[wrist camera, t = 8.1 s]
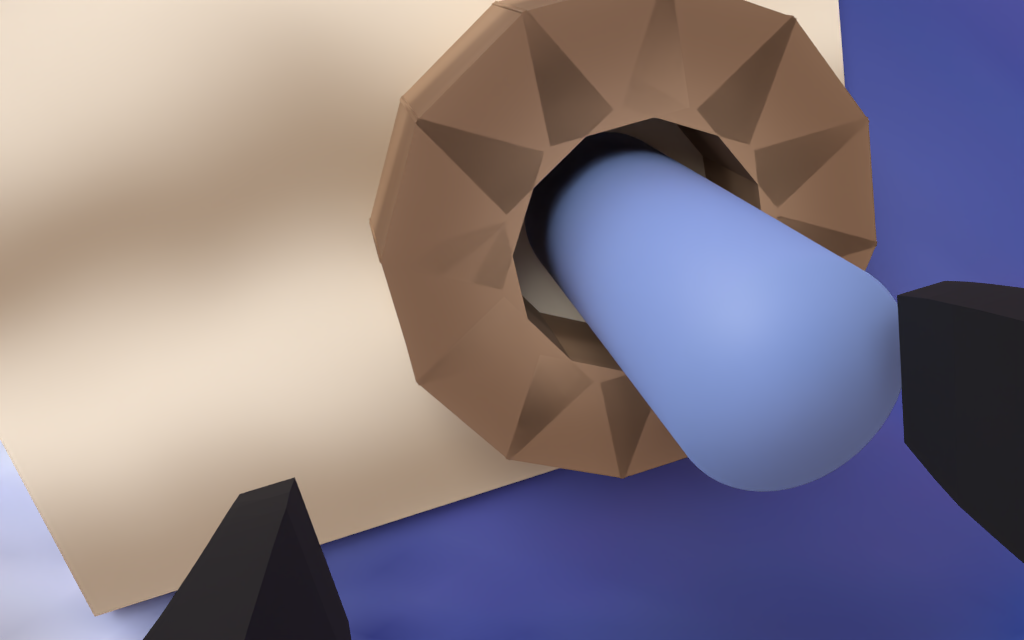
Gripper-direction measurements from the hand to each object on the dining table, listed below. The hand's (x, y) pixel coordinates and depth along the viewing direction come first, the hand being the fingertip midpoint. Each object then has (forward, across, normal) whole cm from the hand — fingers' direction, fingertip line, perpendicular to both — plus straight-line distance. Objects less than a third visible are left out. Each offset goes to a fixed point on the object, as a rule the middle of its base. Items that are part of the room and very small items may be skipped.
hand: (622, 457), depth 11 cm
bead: (+9, -2, 0) cm, 9 cm away
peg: (+9, -2, 0) cm, 9 cm away
